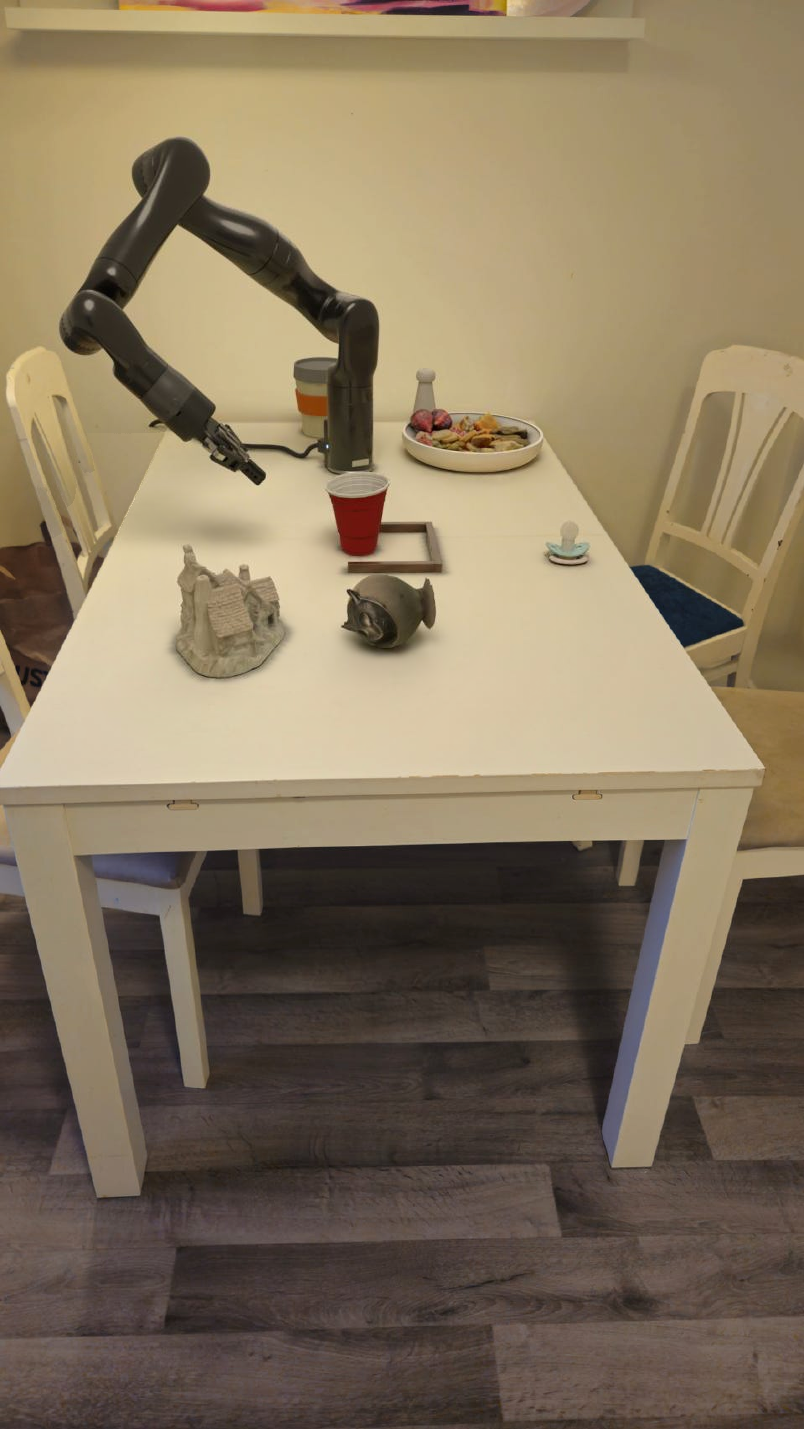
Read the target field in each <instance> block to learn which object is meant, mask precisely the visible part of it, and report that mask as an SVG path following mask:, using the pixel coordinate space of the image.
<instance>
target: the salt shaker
mask: <svg viewBox="0 0 804 1429" xmlns="http://www.w3.org/2000/svg"><path fill="white" fill-rule="evenodd" d="M415 377H416V381H418V383H417V388H416V393H415V399H414V404H413V409H412V415H413V414H414V413H415V412H416V411H418V410H420V409H426V410H428V411H430V412H432V411H433V410H435V409H437V406H436V400H435V393H434V386H433V382H434V381H435V380H436V372H435V370H434V369H432V368H420V369H418V370H417V371H416V374H415ZM412 415H411V416H412Z"/></svg>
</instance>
